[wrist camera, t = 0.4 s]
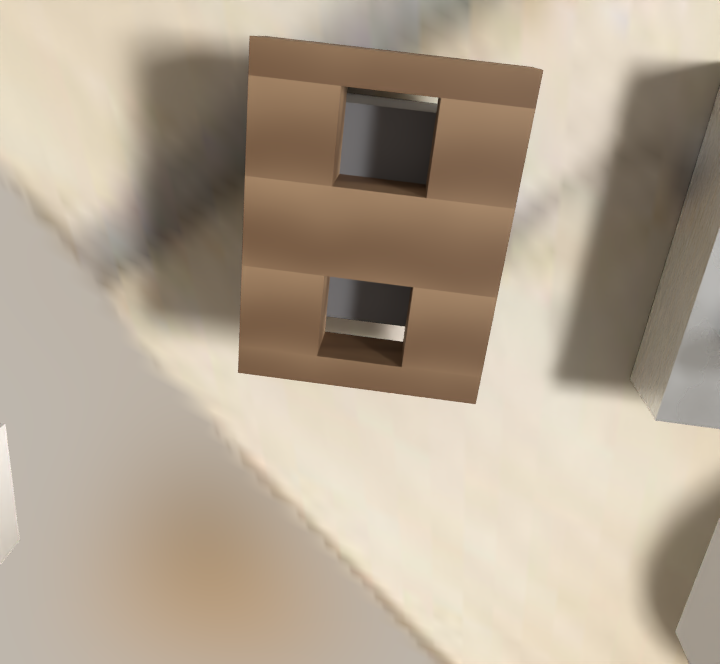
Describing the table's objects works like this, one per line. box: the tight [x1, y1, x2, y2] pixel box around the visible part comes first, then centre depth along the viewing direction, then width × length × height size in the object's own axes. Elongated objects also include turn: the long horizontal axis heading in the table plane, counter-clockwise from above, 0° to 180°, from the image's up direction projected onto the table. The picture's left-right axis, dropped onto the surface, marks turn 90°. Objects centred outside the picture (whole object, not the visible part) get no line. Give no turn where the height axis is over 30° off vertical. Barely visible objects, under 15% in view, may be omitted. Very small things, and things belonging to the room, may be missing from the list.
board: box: [238, 36, 543, 404], centre depth 27 cm, size 13×10×2 cm
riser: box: [326, 93, 438, 326], centre depth 29 cm, size 9×6×4 cm, turn 174°
